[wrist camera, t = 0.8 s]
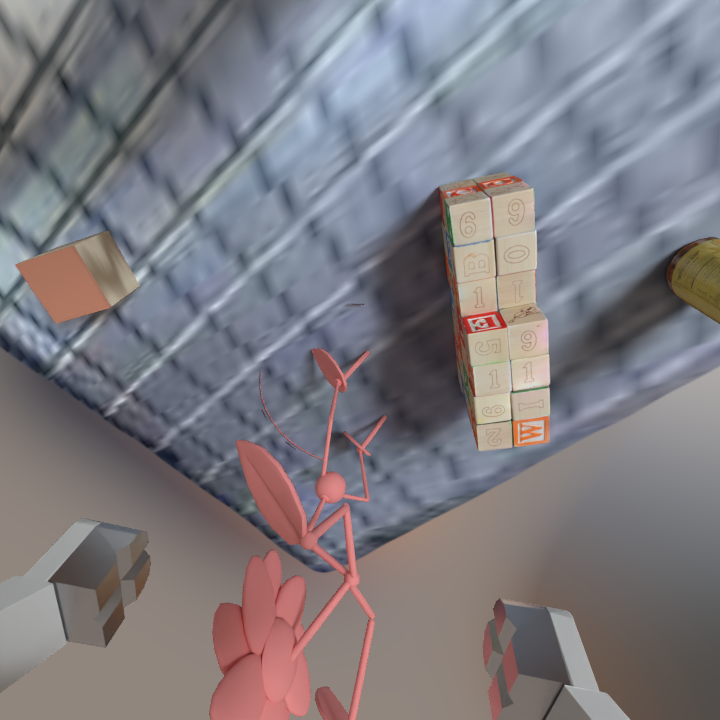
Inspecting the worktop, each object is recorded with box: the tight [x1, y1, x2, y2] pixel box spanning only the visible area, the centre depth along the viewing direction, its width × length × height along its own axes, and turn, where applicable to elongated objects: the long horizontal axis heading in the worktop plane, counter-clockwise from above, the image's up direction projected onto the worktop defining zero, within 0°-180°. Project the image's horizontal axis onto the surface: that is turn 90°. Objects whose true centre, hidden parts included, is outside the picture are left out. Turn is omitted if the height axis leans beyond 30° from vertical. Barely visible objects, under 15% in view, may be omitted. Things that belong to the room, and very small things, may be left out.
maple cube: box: [16, 231, 140, 323], centre depth 43 cm, size 6×6×6 cm
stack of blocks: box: [438, 172, 550, 451], centre depth 39 cm, size 21×6×12 cm, turn 12°
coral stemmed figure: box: [209, 304, 387, 720], centre depth 37 cm, size 15×26×35 cm, turn 14°
